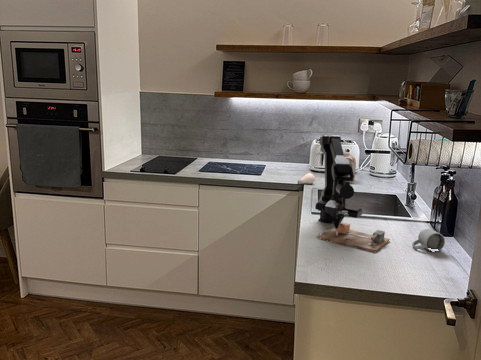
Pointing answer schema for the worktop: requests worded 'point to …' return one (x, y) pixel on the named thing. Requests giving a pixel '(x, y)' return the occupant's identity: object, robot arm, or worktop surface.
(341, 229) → the block
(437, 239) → the ceramic mug
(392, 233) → the worktop surface
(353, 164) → the decorative jar
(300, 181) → the light bulb
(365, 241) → the board
